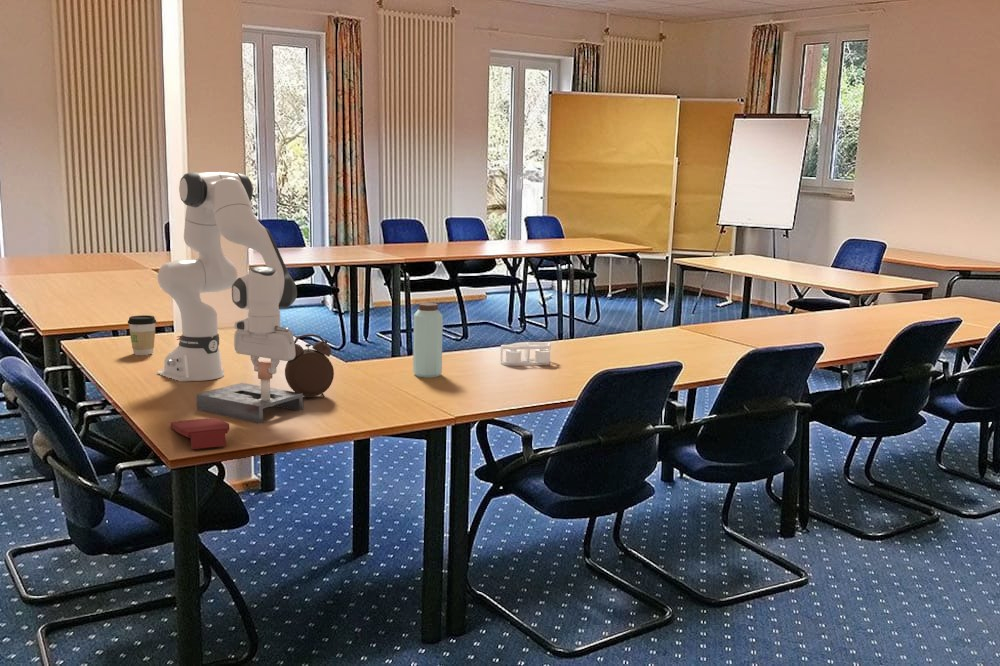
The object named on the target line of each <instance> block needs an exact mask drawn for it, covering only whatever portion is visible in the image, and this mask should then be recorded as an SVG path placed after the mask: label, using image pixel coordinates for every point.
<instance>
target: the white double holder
mask: <svg viewBox="0 0 1000 666" xmlns="http://www.w3.org/2000/svg"><path fill="white" fill-rule="evenodd" d="M551 346H552V345H551V342H546V341H545V342H543V341H523V342H522V341H521V342H514V343H510V344H501V345H500V361H499V364H500V365H502V366H544V365H545V366H546V365H547V366H548V365H550V362H551ZM504 350H505V360H503V357H504ZM522 350H524V358H522ZM531 350H534V357H532V358H531V355H530V354H531ZM530 361H531V362H530Z"/></svg>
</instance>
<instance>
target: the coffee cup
mask: <svg viewBox="0 0 1000 666" xmlns="http://www.w3.org/2000/svg"><path fill="white" fill-rule="evenodd" d="M156 323H157V319H156V318H155V316H154V315H147V314H145V315H144V314H141V315H132V316H129V318H128V320H127V324H128V326H129V335H130V341H131V342H130V343H131V347H132V351H133V355H134V354H135V355H134V356H137V355H146V356H149V355H148V354H152V353H153V354H154V347H155V340H156V339H155V337H156ZM153 354H152V355H153Z"/></svg>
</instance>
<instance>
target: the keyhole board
mask: <svg viewBox="0 0 1000 666" xmlns="http://www.w3.org/2000/svg"><path fill="white" fill-rule="evenodd" d="M270 398H272V399H271V400H268V401H264V400H259V399H261V385H257V384H252V383H246V382H239V383H235V384H232V385H227V386H223V387H219V388H215V389H211V390H208V391H207V390H206V391H204V392H200V393H196V411H201V412H205V413H210V414H214V415H219V416H223V417H226V418H232V419H236V420H240V421H246V422H250V423H254V424H258V425H259V424H264V409H267V408H269V407H270V406H271V407H279V408H284V409H287V410H292V411H297V412H301V411H303V410H304V401H303V399H304V396H303V393H297V392H294V391H293V390H292V391H291V390H285V389H281V388H274V387H270ZM273 405H274V406H273ZM271 407H270V408H271Z"/></svg>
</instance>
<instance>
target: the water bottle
mask: <svg viewBox="0 0 1000 666" xmlns="http://www.w3.org/2000/svg"><path fill="white" fill-rule="evenodd" d="M438 309H439V304H438V303H435V302H434V303H433V302H422V303H421V302H419V303H418V308H417V310H416V311H415V313H413V358H412V360H413V361H412V372H413V374H414V375H415V376H416V377H420V378H426V379H428V378H430V379H431V378H437V377H439V376H441V375H442V373H443V324H444V323H443V319H444V318H443V317H444V316H443V314H442V313H441V312H440V311H439V310H438Z"/></svg>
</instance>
